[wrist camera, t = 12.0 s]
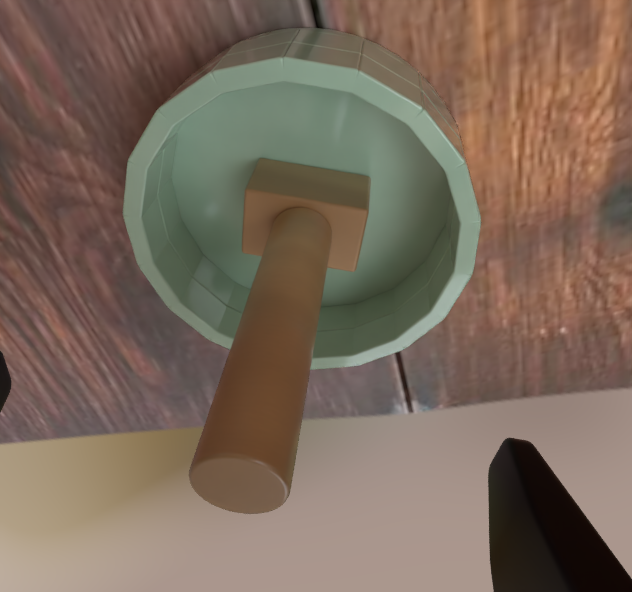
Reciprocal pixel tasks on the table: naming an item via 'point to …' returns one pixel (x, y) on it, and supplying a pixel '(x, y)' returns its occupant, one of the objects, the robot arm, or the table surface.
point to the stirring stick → (277, 330)
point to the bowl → (317, 151)
